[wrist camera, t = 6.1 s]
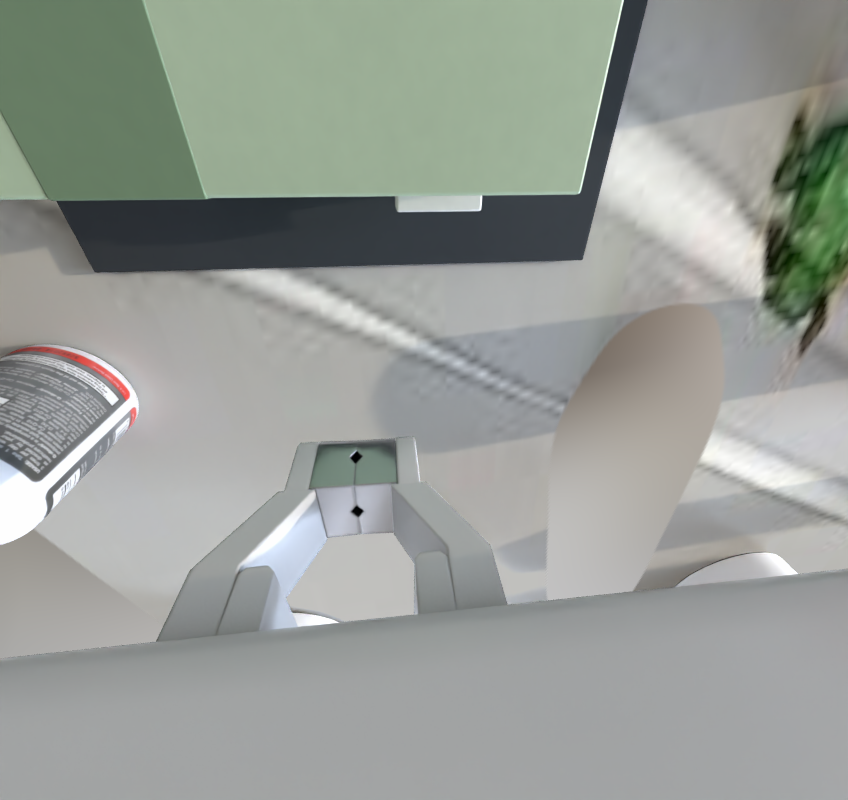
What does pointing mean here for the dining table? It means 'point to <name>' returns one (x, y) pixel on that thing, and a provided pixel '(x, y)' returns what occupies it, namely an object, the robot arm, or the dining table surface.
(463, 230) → the slate mat
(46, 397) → the pill bottle
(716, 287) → the dining table surface
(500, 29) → the green box
